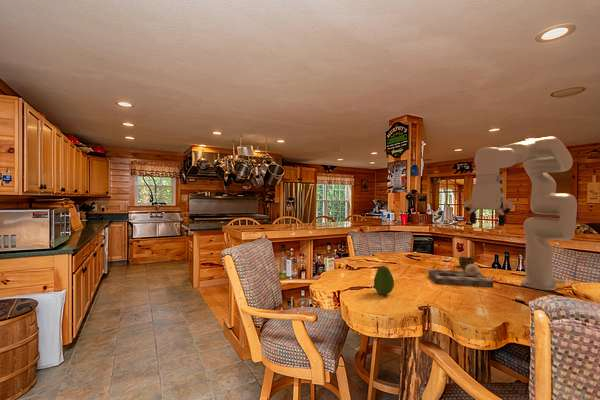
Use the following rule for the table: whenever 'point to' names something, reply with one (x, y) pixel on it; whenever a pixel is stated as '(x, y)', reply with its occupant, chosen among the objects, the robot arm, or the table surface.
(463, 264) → the cup
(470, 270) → the maple ball
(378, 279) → the avocado
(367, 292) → the table surface
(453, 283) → the track board
